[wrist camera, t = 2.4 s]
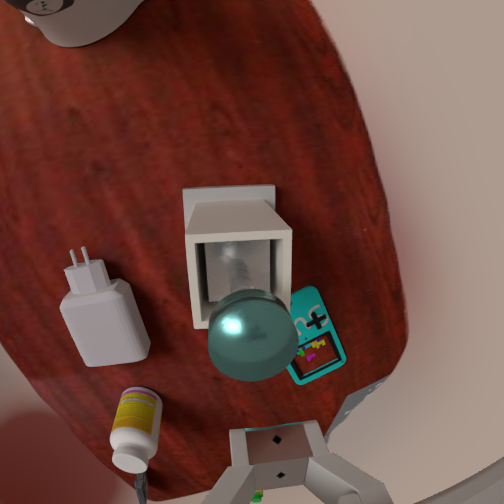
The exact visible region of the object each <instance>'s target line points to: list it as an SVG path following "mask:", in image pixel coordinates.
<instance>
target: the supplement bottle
mask: <svg viewBox="0 0 504 504" xmlns="http://www.w3.org/2000/svg"><path fill="white" fill-rule="evenodd" d="M162 407H163V405H162V401H161V399H160V397H159V396H158V395H157V394H156V393H155V392H153V391H151V390H149V389H147V388H144V387H131V388H128V389H127V390H125V391H124V392H123V394H122V396H121V399H120V402H119V406H118V409H117V413H116V417H115V420H114V424H113V428H112V431H111V435H110V443H111V445H112V447H113V449H114V450H115V451H114V453H113V457H112V461H113V463H114V464H115V465H116V466H117V467H118V468H120V469H121V470H123V471H126V472H130V473H143V472H145V471H146V470H147V467H148V459H150V458H152V457H153V456H154V455H155V454H156V452H157V447H158V438H159V430H160V423H161V416H162Z"/></svg>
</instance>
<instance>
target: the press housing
mask: <svg viewBox="0 0 504 504" xmlns="http://www.w3.org/2000/svg"><path fill="white" fill-rule="evenodd" d="M183 203H184V218H185V232H186V233H185V243H186V254H187V266H188V276H189V286H190V296H191V305H192V314H193V322H194V329H202V328H208V323H209V318H210V315H211V312H212V310H213V309H214V307H215V306H216V305H217V303H218V302H219V301H216V302H209V294H208V282H207V268H206V254H205V243H207V242H225V241H244V240H264V239H270V293H272V294H274V295H276V296H277V297H278V298H279V299H281V300H282V301H283V303H284V304H285V305H286V307H287V309H288V311H289V313H290V299H291V261H292V229H291V228H290V227H289V226H288V225H287V224H286V223H285V222H284V221H283V220H282V219H281V217H280V216H279V215H278V214H277V213H276V212H275V185H273V184H265V185H235V186H213V187H195V188H184V189H183Z"/></svg>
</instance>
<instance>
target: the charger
mask: <svg viewBox="0 0 504 504" xmlns="http://www.w3.org/2000/svg"><path fill="white" fill-rule="evenodd" d="M81 249H82V252H83V255H84V258H85V261H86V262H83V263H77V260H76V257H75V253H74V250H70V254H71V257H72V260H73V263H74V265H73V266H70V267H68V268H66V269H64V271H65V274H66V277H67V280H68V282H69V285H70V288H71V290H70V292H69V293H68V294H67V295H66V296H65V297H64V298H63V300H62V303H61V305H60V310H61V313H62V315H63V318H64V320H65V322H66V324H67V327H68V329H69V331H70V333H71V335H72V338H73V340H74V342H75V344H76V346H77V348H78V350H79V352H80V354H81V356H82V358H83V360H84V362H85V364H86V365H87V366H90V367H94V366H104V365H113V364H121V363H129V362H136V361H140V360H143V359H145V358H146V357H147V355H148V352H149V348H150V344H151V342H150V339H149V337H148V334H147V332H146V329H145V326H144V324H143V321H142V318H141V315H140V313H139V310H138V307H137V304H136V301H135V298H134V296H133V293H132V290H131V287H130V284H129V283H127V282H125V281H124V280H122V279H120V278H119V279H113V280H109V277H108V274H107V271H106V268H105V265H104V262H103V260H91V261H90V260H89V257H88V254H87V251H86V248H85V247H82V248H81Z"/></svg>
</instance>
